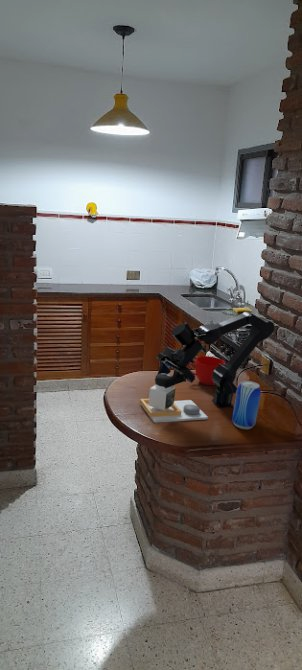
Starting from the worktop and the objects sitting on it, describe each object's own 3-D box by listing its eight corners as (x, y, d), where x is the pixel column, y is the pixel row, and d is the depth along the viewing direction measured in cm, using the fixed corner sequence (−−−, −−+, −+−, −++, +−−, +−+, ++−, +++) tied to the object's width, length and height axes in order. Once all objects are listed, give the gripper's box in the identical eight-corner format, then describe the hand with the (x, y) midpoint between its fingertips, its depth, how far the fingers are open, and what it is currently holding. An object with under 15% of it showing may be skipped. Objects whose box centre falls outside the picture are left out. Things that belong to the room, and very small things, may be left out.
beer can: (249, 432, 174) (257, 391, 169) (227, 424, 178) (234, 384, 173) (257, 424, 181) (265, 384, 176) (236, 417, 185) (243, 377, 180)
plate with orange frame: (190, 401, 194) (191, 396, 193) (207, 419, 181) (208, 413, 180) (139, 404, 186) (140, 398, 186) (152, 422, 173) (153, 416, 172)
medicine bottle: (165, 411, 178) (168, 380, 174) (148, 405, 181) (150, 375, 178) (174, 404, 184) (177, 374, 180) (157, 399, 187) (160, 370, 184)
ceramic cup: (181, 376, 220) (183, 355, 218) (216, 377, 224) (220, 356, 221) (188, 387, 208) (191, 365, 205) (226, 388, 212) (229, 367, 209)
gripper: (163, 332, 185) (135, 362, 182) (192, 347, 170) (162, 381, 167) (178, 350, 191) (151, 379, 189) (207, 366, 176) (178, 399, 174)
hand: (160, 384), depth 179 cm, fingers closed on medicine bottle, 6 cm apart
